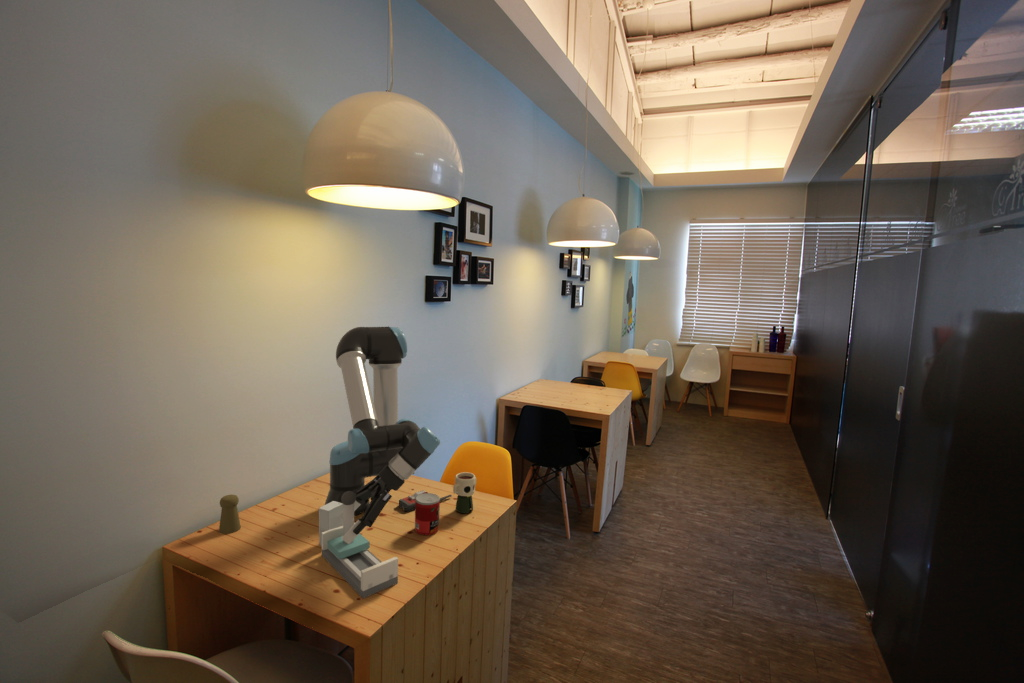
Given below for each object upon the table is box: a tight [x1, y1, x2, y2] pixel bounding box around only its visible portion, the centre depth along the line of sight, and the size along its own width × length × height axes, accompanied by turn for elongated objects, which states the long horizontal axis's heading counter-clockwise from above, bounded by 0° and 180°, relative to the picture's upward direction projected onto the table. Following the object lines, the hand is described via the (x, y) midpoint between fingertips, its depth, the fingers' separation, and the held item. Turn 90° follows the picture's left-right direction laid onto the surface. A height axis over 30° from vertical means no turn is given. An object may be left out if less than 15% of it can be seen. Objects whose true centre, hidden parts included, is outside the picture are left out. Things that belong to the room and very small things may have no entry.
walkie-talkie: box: [398, 490, 453, 513], centre depth 176 cm, size 9×4×20 cm
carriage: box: [327, 491, 371, 560], centre depth 137 cm, size 8×9×17 cm
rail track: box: [321, 521, 399, 599], centre depth 133 cm, size 26×10×7 cm, turn 44°
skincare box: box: [318, 501, 343, 547], centre depth 146 cm, size 6×4×12 cm
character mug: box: [452, 471, 477, 514], centre depth 171 cm, size 11×7×13 cm, turn 139°
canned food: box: [414, 492, 441, 536], centre depth 156 cm, size 8×8×11 cm
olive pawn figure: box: [218, 494, 242, 535], centre depth 151 cm, size 6×6×11 cm
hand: (343, 529), depth 136 cm, fingers open, 13 cm apart
